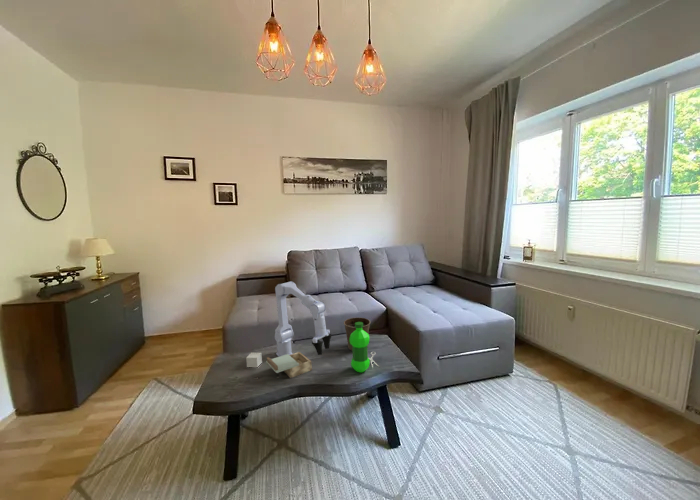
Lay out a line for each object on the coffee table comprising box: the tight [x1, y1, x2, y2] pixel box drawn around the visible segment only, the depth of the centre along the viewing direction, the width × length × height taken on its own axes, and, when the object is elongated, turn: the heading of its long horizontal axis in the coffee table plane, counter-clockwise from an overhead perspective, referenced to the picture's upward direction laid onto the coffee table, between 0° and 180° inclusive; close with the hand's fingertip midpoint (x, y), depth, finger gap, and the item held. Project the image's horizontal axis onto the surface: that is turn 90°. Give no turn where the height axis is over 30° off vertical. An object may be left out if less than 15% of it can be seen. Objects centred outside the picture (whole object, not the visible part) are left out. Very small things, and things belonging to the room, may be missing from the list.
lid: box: [266, 354, 299, 374], centre depth 149 cm, size 12×14×3 cm
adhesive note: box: [245, 352, 263, 368], centre depth 158 cm, size 6×6×6 cm
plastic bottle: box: [349, 322, 371, 373], centre depth 149 cm, size 10×10×25 cm
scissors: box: [368, 351, 379, 369], centre depth 160 cm, size 11×1×20 cm
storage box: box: [283, 351, 313, 379], centre depth 153 cm, size 12×14×5 cm
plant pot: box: [343, 316, 371, 351], centre depth 175 cm, size 16×16×16 cm
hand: (323, 351), depth 150 cm, fingers open, 7 cm apart
